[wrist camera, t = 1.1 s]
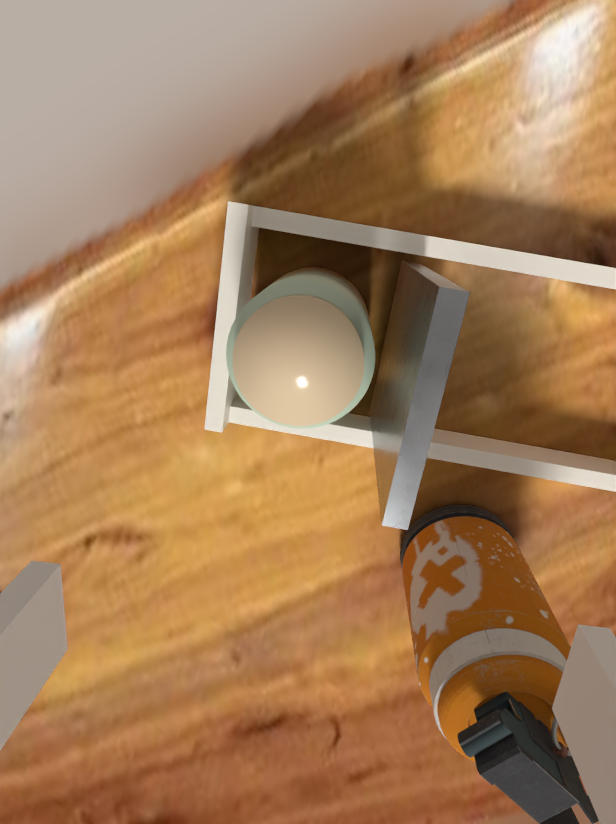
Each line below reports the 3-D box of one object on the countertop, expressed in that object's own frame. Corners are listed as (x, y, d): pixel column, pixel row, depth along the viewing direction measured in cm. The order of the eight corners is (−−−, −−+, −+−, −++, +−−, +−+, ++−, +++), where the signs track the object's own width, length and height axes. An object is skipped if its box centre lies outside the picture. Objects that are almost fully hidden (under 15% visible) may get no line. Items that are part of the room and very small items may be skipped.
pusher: (369, 410, 39) (381, 525, 24) (401, 260, 36) (439, 286, 21) (412, 417, 39) (451, 537, 24) (449, 268, 36) (521, 300, 21)
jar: (250, 369, 39) (213, 422, 29) (264, 258, 37) (230, 271, 26) (357, 388, 39) (359, 448, 29) (379, 278, 37) (391, 299, 26)
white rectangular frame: (221, 405, 40) (204, 429, 36) (244, 204, 36) (228, 201, 31) (641, 480, 40) (680, 514, 35) (723, 286, 35) (780, 296, 30)
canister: (463, 478, 41) (559, 694, 22) (552, 569, 43) (709, 838, 24) (376, 546, 44) (396, 791, 25) (464, 629, 46) (544, 913, 27)
